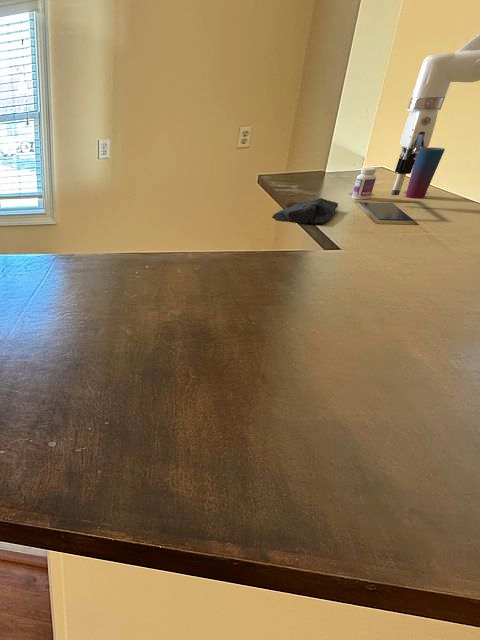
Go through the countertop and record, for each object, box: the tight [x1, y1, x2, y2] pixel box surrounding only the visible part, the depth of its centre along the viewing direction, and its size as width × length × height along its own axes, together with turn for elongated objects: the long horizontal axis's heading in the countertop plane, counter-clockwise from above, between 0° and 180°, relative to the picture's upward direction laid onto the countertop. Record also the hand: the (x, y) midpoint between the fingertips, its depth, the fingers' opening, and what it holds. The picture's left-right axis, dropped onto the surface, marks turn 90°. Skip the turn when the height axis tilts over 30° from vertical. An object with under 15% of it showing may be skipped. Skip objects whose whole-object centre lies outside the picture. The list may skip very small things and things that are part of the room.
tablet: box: [357, 201, 420, 226], centre depth 145 cm, size 16×24×1 cm, turn 158°
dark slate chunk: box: [271, 197, 339, 225], centre depth 149 cm, size 15×22×5 cm
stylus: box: [390, 154, 407, 196], centre depth 145 cm, size 2×2×12 cm
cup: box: [405, 146, 445, 199], centre depth 158 cm, size 7×7×15 cm
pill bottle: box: [351, 167, 377, 200], centre depth 163 cm, size 5×5×10 cm
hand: (402, 172), depth 145 cm, fingers closed on stylus, 2 cm apart
